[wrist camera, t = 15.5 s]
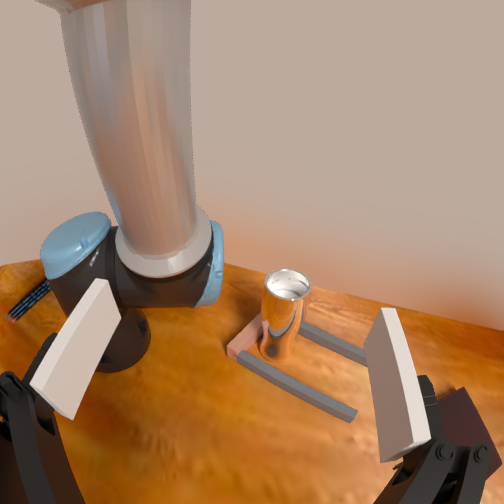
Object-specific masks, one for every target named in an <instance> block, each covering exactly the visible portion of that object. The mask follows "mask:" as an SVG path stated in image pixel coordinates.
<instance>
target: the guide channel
mask: <svg viewBox="0 0 504 504" xmlns="http://www.w3.org/2000/svg"><path fill="white" fill-rule="evenodd" d="M262 334H263V326H262V320H261V312H260V313H259V314H258V315H257V316H256V317H255V318H254V319H253V320H252V321H251V322H250V323H249V324H248V325H247V326H246V327H245V328H244V329H243V330H242V331H241V332H240V333H239V334H238V335H237V336H236V337H235V338H234V339H233V340H232V341H231V342H230V343H229V344H228V345H227V356H228V357H230V358H231V359H233V360H234V361H236V362H238V363H239V364H241V365H242V366H244V367H246V368H247V369H249V370H251V371H252V372H254V373H256V374H257V375H259V376H261V377H262V378H264V379H266V380H267V381H269V382H271V383H273V384H274V385H276V386H278V387H280V388H281V389H283V390H285V391H287V392H289V393H290V394H292V395H294V396H296V397H298V398H300V399H302V400H304V401H305V402H307V403H309V404H311V405H313V406H315V407H317V408H319V409H321V410H323V411H325V412H327V413H329V414H331V415H333V416H335V417H337V418H340V419H342V420H344V421H346V422H348V423H351V422H352V421H353V419H354V418H355V416H356V414H357V412H358V410H355V409H353V408H351V407H349V406H347V405H345V404H343V403H341V402H338V401H336V400H334V399H332V398H330V397H328V396H326V395H324V394H322V393H320V392H318V391H316V390H314V389H312V388H310V387H308V386H307V385H305V384H303V383H301V382H299V381H297V380H295V379H293V378H291V377H290V376H288V375H286V374H284V373H282V372H280V371H279V370H277V369H275V368H273V367H272V366H270V365H268V364H266V363H265V362H263V361H261V360H259V359H258V358H256V357H254V356H253V355H251V354H249V353H247V351H248V349H249V348H250V347H251V346H252V345H253V344H254V343H255V342H256V341H257V340H258V339H259V338H260V336H261V335H262ZM298 334H300V335H302V336H304V337H306V338H308V339H310V340H312V341H314V342H316V343H318V344H320V345H322V346H324V347H326V348H328V349H330V350H332V351H334V352H336V353H338V354H340V355H343V356H345V357H347V358H349V359H351V360H353V361H355V362H357V363H360V364H362V365H364V366H366V367H367V361H366V356H365V351H364V350H363V349H360V348H358V347H356V346H354V345H352V344H350V343H348V342H345V341H343V340H341V339H339V338H337V337H335V336H333V335H331V334H328V333H326V332H324V331H322V330H320V329H318V328H316V327H314V326H312V325H310V324H308V323H306V322H304V323H303V325H302V327H301V328H300V330H299V332H298Z"/></svg>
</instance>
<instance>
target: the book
mask: <svg viewBox="0 0 504 504" xmlns="http://www.w3.org/2000/svg"><path fill="white" fill-rule="evenodd" d="M437 405H438V407H439V412H440V416H441V420H442V424H443V429H444V433H445V436H446V438H447V439H448V440H450V441H451V442H452V443H453V444H454V445H457V446H469V447H471V446H473V445H474V444H476V443H478V442H483V443H485V444H486V445H487V446H488V447H489V451H490V459H489V465H488V470H487V475H486V480H487V479H488V478H489V477H490V476H491V475H492V474H493V473H494V472H495V471H496V470H497V469H498V468H499V467H500V466H501V465H502V461H501V458H500V456H499V454H498V452H497V450H496V448H495V445H494V443H493V441H492V439H491V437H490V435H489V433H488V431H487V429H486V427H485V425H484V423H483V421H482V419H481V417H480V415H479V413H478V411H477V409H476V407H475V405H474V403H473V402H472V400H471V398H470V396H469V394H468V393H467V391H466V389H465V388H464V387H462V388H460V389H458V390H457V391H455V392H453V393H451V394H449V395H447V396H446V397H444V398H442V399H440V400H438V401H437Z"/></svg>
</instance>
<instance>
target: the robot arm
mask: <svg viewBox="0 0 504 504" xmlns="http://www.w3.org/2000/svg"><path fill="white" fill-rule="evenodd" d="M35 1H37V2H40V3H42V4H44V5H46V6H49V7H51V8H53V9H55V10H56V11H58V13H59V14H60V17H61V25H62V32H63V39H64V45H65V51H66V56H67V62H68V66H69V72H70V75H71V81H72V85H73V89H74V93H75V97H76V101H77V105H78V109H79V113H80V116H81V120H82V123H83V127H84V130H85V134H86V137H87V140H88V143H89V146H90V149H91V152H92V156H93V158H94V161H95V164H96V167H97V170H98V173H99V176H100V178H101V181H102V184H103V186H104V189H105V191H106V194H107V197H108V199H109V202H110V205H111V207H112V209H113V212H114V214H115V217H116V219H117V222H118V224H119V226H111V220H110V219H109V218H108V216H107V215H106V214H104V213H101V212H90V213H85V214H82V215H79V216H76V217H74V218H72V219H70V220H68V221H66V222H64V223H63V224H61V225H60V226H58V227H57V228H56V229H54V230H53V231H52V232H51V233H50V234H49V235H48V236H47V238H46V239H45V241H44V242H43V244H42V247H41V250H40V257H41V261H42V264H43V267H44V270H45V276H46V277H47V279H48V281H49V283H50V286H51V288H52V290H53V292H54V294H55V296H56V298H57V300H58V302H59V304H60V306H61V308H62V310H63V311H64V313H65V315H66V317H67V321H66V322H65V324H64V325H63V327H62V329H61V330H60V332H59V333H58V334H57V333H52V334H51V335H50V336H49V337H48V338H47V339H46V340H45V342H44V343H43V345H42V347H41V349H40V350H39V351H38V353H37V356H36V357H35V358H34V360H33V362H32V363H31V365H30V367H29V369H28V371H27V372H26V374H25V376H24V378H23V379H22V381H20V380H19V379H18V377H17V376H16V375H15V374H14V373H13V372H11V371H5V372H4V373H2V374H1V375H0V416H1V417H3V420H2V422H1V421H0V504H85V501H84V499H83V497H82V495H81V492H80V490H79V488H78V485H77V483H76V480H75V478H74V475H73V473H72V470H71V467H70V464H69V462H68V459H67V456H66V453H65V450H64V447H63V443H62V440H61V437H60V433H59V429H58V426H57V422H56V418H55V415H54V413H53V411H54V409H55V410H56V411H57V412H58V413H59V414H61V415H63V416H65V417H67V418H69V419H71V420H73V419H74V417H75V414H76V412H77V409H78V407H79V405H80V402H81V400H82V398H83V395H84V393H85V391H86V389H87V387H88V384H89V382H90V380H91V378H92V376H93V374H94V371H98V372H104V373H112V372H118V371H122V370H124V369H127V368H129V367H131V366H132V365H134V364H135V363H136V362H138V361H139V360H140V359H141V358H142V357H143V355H144V354H145V353H146V351H147V349H148V347H149V344H150V339H151V333H150V328H149V325H148V322H147V319H146V317H145V316H144V314H143V313H142V311H141V310H140V309H139V308H174V307H189V308H196V307H198V306H208V305H212V304H214V303H215V302H216V301H217V300H218V298H219V296H220V293H221V288H222V281H223V274H222V272H223V267H224V241H223V232H222V228H221V225H220V224H219V223H218V222H216V221H211V220H209V218H208V215H207V214H206V213H205V211H204V210H203V209H202V208H201V207H200V206H199V205H198V204H196V194H195V181H194V165H193V148H192V127H191V98H190V15H191V0H35ZM363 346H364V351H365V356H366V361H367V367H368V372H369V378H370V384H371V390H372V396H373V403H374V410H375V417H376V425H377V433H378V442H379V452H380V463H384V462H390V461H395V460H398V459H399V458H401V457H403V462H401V463H399V464H398V465H396V466H395V467H394V468H393V470H395V469H397V468H398V470H397V471H396V473H395V474H394V476H393V477H392V479H391V480H390V481H389V483H388V484H387V486H386V487H385V488H384V490H383V491H382V493H381V494H380V495H379V497H378V498H377V499H376V501H375V502H374V503H373V504H480V500H481V497H482V493H483V489H484V485H485V480H486V475H487V470H488V465H489V459H490V451H489V447H488V446H487V445H486V444H485V443H483V442H478V443H476V444H474V445H473V446H471V447H469V446H457V445H454V444H453V443H452V442H451V441H450V440H448V439H447V438H446V436H445V433H444V429H443V424H442V420H441V416H440V412H439V407H438V405H437V400H436V397H435V392H434V388H433V385H432V383H431V382H430V380H429V379H428V377H427V376H426V375H420V376H417V375H416V371H415V368H414V364H413V361H412V358H411V354H410V351H409V348H408V345H407V341H406V338H405V335H404V332H403V329H402V326H401V323H400V321H399V318H398V315H397V312H396V309H395V308H381V309H380V311H379V313H378V316H377V318H376V320H375V322H374V324H373V326H372V328H371V330H370V332H369V334H368V336H367V338H366V340H365V342H364V344H363Z"/></svg>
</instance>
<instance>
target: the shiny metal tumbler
mask: <svg viewBox="0 0 504 504" xmlns="http://www.w3.org/2000/svg"><path fill="white" fill-rule="evenodd" d="M311 290H312V283H311V281H310V279H309V278H308V277H307V276H306V275H305V274H303V273H302V272H299V271H297V270H293V269H277V270H274V271H272V272H270V273H269V274H268V275H267V276H266V278H265V282H264V288H263V293H262V299H261V320H262V326H263V337H262V340H261V342H260V345H259V349H260V353H261V354H262V356H263V357H264V358H266V359H267V360H269V361H272V362H284V361H286V360H288V359H290V358H291V357H292V355H293V353H294V349H295V346H294V341H295V338H296V336H297V334H298V332H299V330H300V328H301V327H302V325H303V323H304V320H305V318H306V315H307V312H308V308H309V304H310V297H311Z"/></svg>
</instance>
